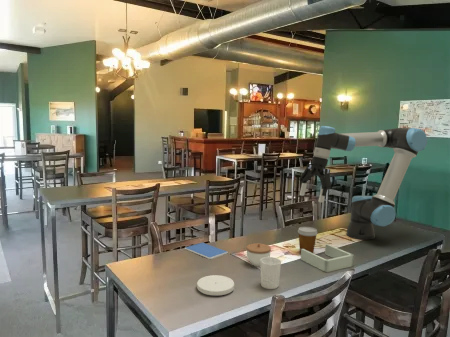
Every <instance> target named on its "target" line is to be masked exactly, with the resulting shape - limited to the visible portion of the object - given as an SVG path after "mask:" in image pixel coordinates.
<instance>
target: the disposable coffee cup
mask: <svg viewBox="0 0 450 337" xmlns="http://www.w3.org/2000/svg"><path fill="white" fill-rule="evenodd" d="M297 234H298V241H299V242H298V245H299V254H301V249H305V250H307V251H309V252H311V253H313V254H314V252H315V246H316V239H317V235H318V229H317V228H315V227H313V226H311V227H310V226H300V227H298V230H297Z"/></svg>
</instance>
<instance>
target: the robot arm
mask: <svg viewBox="0 0 450 337" xmlns="http://www.w3.org/2000/svg"><path fill="white" fill-rule="evenodd" d="M427 145H428V136H427V134H426V132H425V131H424V130H423V129H421V128H417V127H416V128H415V127H395V128H389V129H379V130H378V131H373V132H372V131H369V132H351V133H350V132H347V133H346V132H345V133H343V132H342V133H338V132H336V128H335V127H332V126H328V125H327V126H326V125H321V126H320V128H319V130H318V133H317V137H316V142H315V147H314V150H313V156H312V158H311V164H306V168H305V169H304V171H303V172H302V174H301V175H300V177H299V178H298V180H299V181H300V182H301V183H300V191H299V196H301V197H302V196H303V197H305V194H306V190H307V186H308V181H310V179H311V178H312V177H314V176H316V177H318V178H319V181H320V183H321V187H322V188H320V192H319V197H318V201H317V202H319V203H324V200H325V198H326V196H327V194H328V190H332V181H331V169H330V168H326V167H327V166H328V163H329V160H328V159H329V157H330V154H331V150H332V149H333V150H341V151H344V152H346V151H347V152H352V151H353V150H354V149H355V148H356V147H358V148H359V147H379V148H390V149H393V151H394V152H393V153H394V154H393V157H392V159H391V161H390V162H389V165H388V168H387V170H386V172H385V175H384V177H383V179H382V181H381V184H380V186H379V189H378V191H377V193H375V195H354V196H352V198H351V208H350V222H349V225H348V226H347V229H346V235H347V236H348V237H349V238H352V239H355V240H357V239H358V240H362V241H363V240H365V241H367V240H368V241H369V240H374V239H375V237H376V233H375V228H374V225H375V226H377V227H378V226H379V227H387V226H389V225H390V224H392V223H393V222H394V220H395V218H396V215H397V214H396V210H395V207H396V204H395V198H396V196H397V193H398V191H399V189H400V187H401V184H402V182H403V180H404V177H405V176H406V172H407V170H408V168H409V166H410V164H411V161H412V160H413V158H416V157H417V155H418V153H419V152H422V151H423V150H425V149H426V147H427Z"/></svg>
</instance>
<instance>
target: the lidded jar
mask: <svg viewBox="0 0 450 337" xmlns="http://www.w3.org/2000/svg"><path fill="white" fill-rule="evenodd" d="M271 250H272V247H271V246H270V245H268V244H266V243H265V244H264V243H258V242H256V243H250V244H248V245H246V257H247V259H248V261H249V263H250V264H251V266H253V265H254V266H253V267H258V266H260V260H261V259H262V258H264V257H271V252H272V251H271Z"/></svg>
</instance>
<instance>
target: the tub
mask: <svg viewBox="0 0 450 337" xmlns="http://www.w3.org/2000/svg"><path fill="white" fill-rule="evenodd" d="M324 246H325V249H324V255H326V256H328V257H329V258H330V259H326V258H324V257H322V256H319V255H317V254H315V253H314V252H313V253H311V252H309V251H307V250H305V249H301V253H300V260H301V261H303V262H304V263H307V264H309V265H311V266H312V267H314V268H316V269H319V270H320V271H323V272H324V273H331V272H333V271H339V270H342V269H346V268H350V267H351V268H352V267H354V264H355V255H354V254H353V253H350V252H349V251H345V250H343V249H341V248H338V247H336V246H334V245H331V244H329V243H325V245H324Z"/></svg>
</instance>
